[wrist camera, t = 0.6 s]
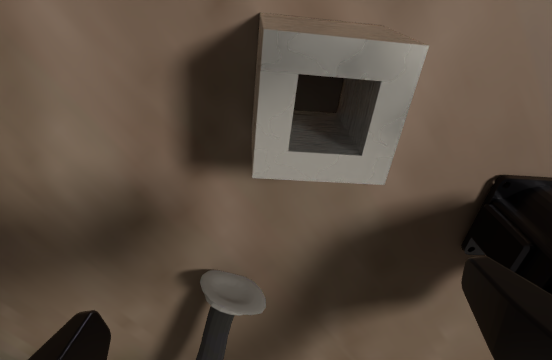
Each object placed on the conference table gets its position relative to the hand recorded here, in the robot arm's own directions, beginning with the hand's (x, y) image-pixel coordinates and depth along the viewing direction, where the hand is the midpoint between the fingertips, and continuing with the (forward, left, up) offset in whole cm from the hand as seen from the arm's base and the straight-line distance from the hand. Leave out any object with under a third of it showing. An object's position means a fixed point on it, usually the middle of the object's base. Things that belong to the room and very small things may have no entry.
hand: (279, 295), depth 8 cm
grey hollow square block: (-2, -2, -12) cm, 12 cm away
